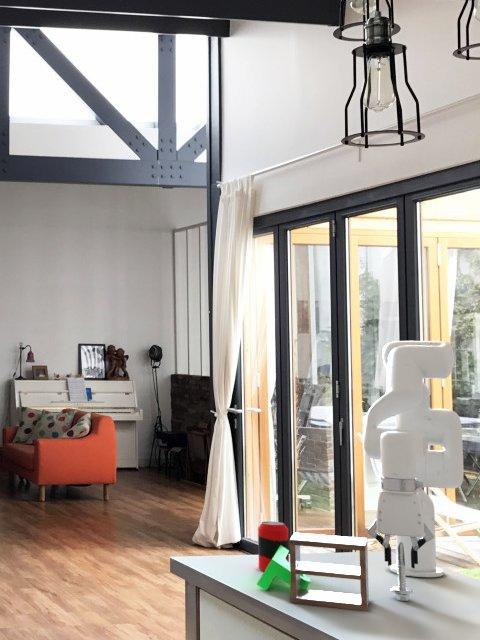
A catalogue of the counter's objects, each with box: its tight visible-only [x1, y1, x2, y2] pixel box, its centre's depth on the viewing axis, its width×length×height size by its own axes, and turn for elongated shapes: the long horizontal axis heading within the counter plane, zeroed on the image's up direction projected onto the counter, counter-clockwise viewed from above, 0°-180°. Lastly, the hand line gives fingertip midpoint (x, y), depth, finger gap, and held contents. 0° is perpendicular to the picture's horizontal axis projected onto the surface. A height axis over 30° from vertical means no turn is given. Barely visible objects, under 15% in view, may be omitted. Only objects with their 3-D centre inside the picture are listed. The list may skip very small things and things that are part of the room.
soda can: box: [257, 520, 290, 573], centre depth 264 cm, size 8×8×12 cm
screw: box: [390, 542, 415, 602], centre depth 233 cm, size 13×5×5 cm
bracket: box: [256, 545, 312, 591], centre depth 248 cm, size 20×10×7 cm
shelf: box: [289, 532, 370, 612], centre depth 230 cm, size 10×16×14 cm, turn 66°
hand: (401, 565), depth 234 cm, fingers open, 4 cm apart
